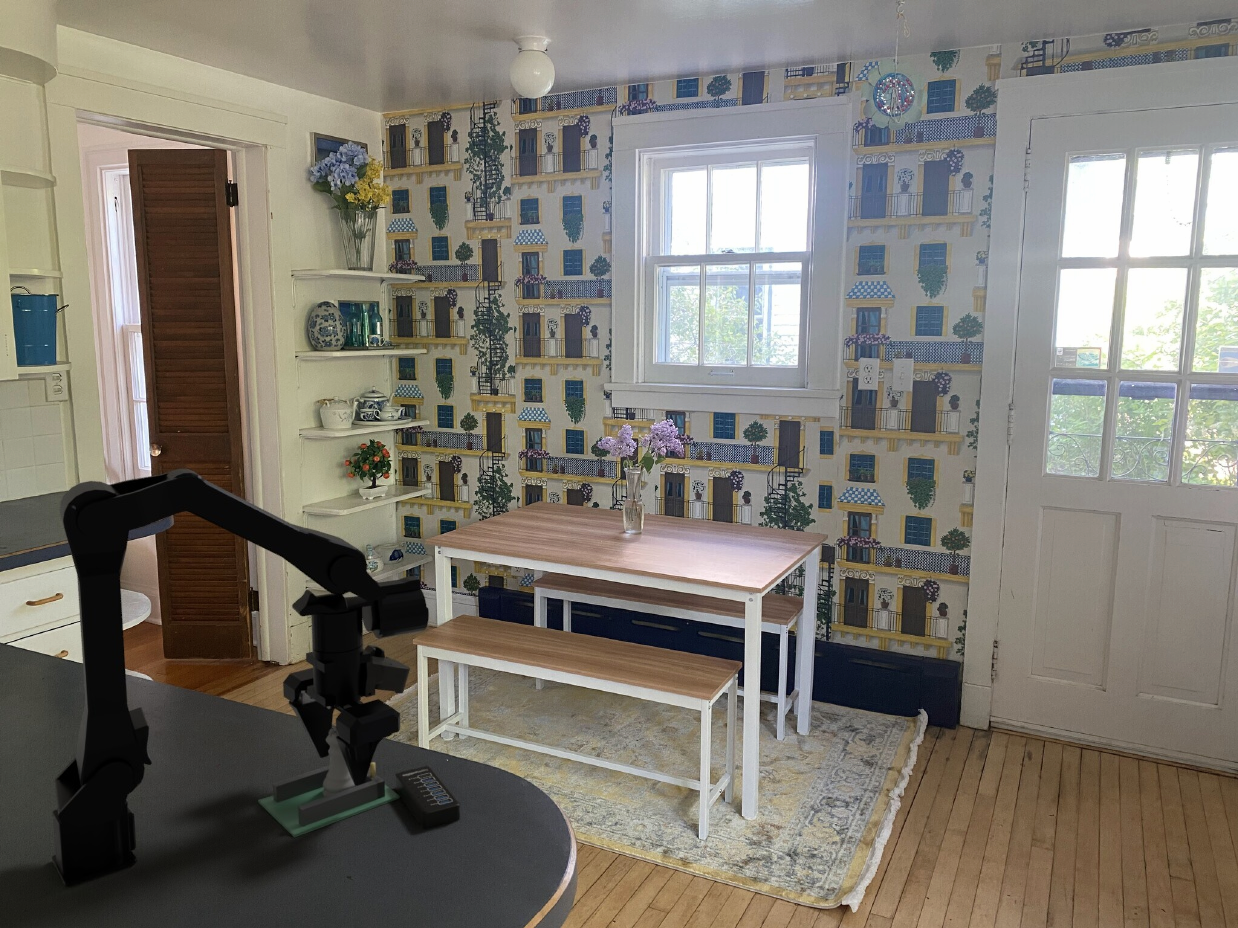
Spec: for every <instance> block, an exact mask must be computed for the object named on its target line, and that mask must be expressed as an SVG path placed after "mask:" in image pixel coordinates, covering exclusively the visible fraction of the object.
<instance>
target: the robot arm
mask: <svg viewBox="0 0 1238 928" xmlns="http://www.w3.org/2000/svg"><path fill="white" fill-rule="evenodd" d="M61 497H62V498H61V500H60V503H59V515H60V519H61V521H62V526H63V529H64V533H65V536H66V541H67V545H68V546H69V550H70V554H71V558H72V560H73V564H74V568H75V572H76V577H77V578H76V579H77V591H78V592H77V593H78V606H79V607H78V609H79V622H80V623H79V624H80V639H81V654H82V655H81V657H82V669H83V685H84V698H85V699H84V700H85V701H84V706H83V707H84V708H83V712H82V716H81V721H80V725H79V730H78V736H77V737H78V738H77V744H76V750H75V757H73V759H72V760H71V761H70V762H69V763H68V764H67V765H66V767H64V768H63V770H62V771H60V773H59V774H58V775H57V776H56V777H55V778H54V781H53V783H54V791H55V798H56V806H57V807H56V808H57V809H54V810H52V823H53V825H52V826H53V835H54V848H55V849H54V851H55V854H54V855H52V856H51V862H52V864H53V866H54V868H55V869H56V872H57V873H58V875H59V878H60V879H61V881H62V882H63V884H64V886H65V887H72V886H75V885H77V884H80V883H81V884H82V883H83V882H88V881H89V880H92V879H95V878H97V877H101V876H104V875H106V874H109V873H112V872H114V871H118V870H120V869H123V868H127V867H129V866H132V865H134V864H136V863H137V857H136V855H135V853H134V852H133V851H134V850H135V849H136V848H137V836H136V822H135V813H134V812H133V809H131V807H130V806H129V804H128V800H127V798H128V795H130V794H131V793H132V792H134V791H135V789H136V788H137V787H138V786H140V784H141V783H142V782H143V779H144V778H145V768H146V767H145V765H146V766H147V765H148V766H150V765H152V759H151V757H150V756H151V755H150V753H149V751H148V741H149V734H150V733H149V732H150V726H149V723H148V721H147V717H146V716H145V713H144V710H143V707H137V708H135V709H132V710H129V707H128V696H127V695H128V692H127V676H126V673H127V672H126V659H125V658H126V657H125V641H124V639H125V638H124V637H125V636H124V623H123V622H124V621H123V606H122V589H121V587H122V586H121V575H122V574H121V573H122V570H123V565H124V561H125V558H126V557H125V556H126V553H127V547H128V541H129V534H130V531H133V530H136V529H139V528H140V529H141V528H144V527H147V526H150V525H151V524H154V523H157V522H159V521H163V520H164V519H166V518H169V517H172V516H174V515H177V514H181V513H185V512H186V513H187V512H188V513H190V514H192V515H194V516H197V517H199V519H203V520H205V521H206V522H208V523H211V524H213V525H215V526H216V527H219V528H221V529H223V530H225V531H228V532H229V533H231V534H232V535H236V536H238V537H240V538H241V539H244V540H246V541H248V542H250V543H252V544H254V545H256V546H259V547H260V548H262V549H264V550H267V551H269V552H271V553H273V554H275V555H276V556H279V557H280V558H283V560H285V561H286V562H288V563H289V564H291V565H292V566H293V567H294V568H296V569H297V570H298V571H300V572H301V573H302V574H303V575H305V576H306V577H308V578H309V579H310V580H312V581H313V582H314V583H316V584H317V585H318V586H320V587H321V588H322V589H324V590H325V591H326V592H329V593H325V594H324V593H323V594H319V595H316V594H314V593H313V592H312V591H311V590H309V589H306V590H304V593H303V594H302V595H301V596H300V597H299V598H298V599H296V600H295V601H294V602H293V603H292V605H291V608H292V609H293V610H294V612H296V613H297V614H298V615H299V616H300V617H309V616H310V617H311V643H312V650H311V651H310V652H306V653H305V662H307V663H308V664H310V665H311V666H312V667H310V668H307V669H303V670H298V671H294V672H291V673H289V674H288V676H287V677H286V678H285V679H284V680H283V682H282V689H283V698H285V699H286V700H288V705H289V707H290V708H291V709H292V710H293V712H294V714H295V715H296V717H297V719H298V721H299V722H300V724H301V726H302V728H303V730H304V731H305V733H306V735H307V737H308V738H309V739H308V740H310V742H311V744H312V746H313V748H314V750H315V752H316V754H317V755H318V757H319V758H321V759H324V758H326V757H329V756H330V754H329V753H328V750H329V749H330V745H329V744H328V743H327V742H326V738H327V736H328V735H329V732H330V729H332V728H333V716H334V711H335V710H337V711H338V712H339V714H338V715H337V717H336V718H335V730H336V729H337V732H338V734H339V736H337V737H336V739H337V742H338V745H339V747H340V750H341V752H342V755H343V757H344V760H345V763H346V765H347V768H348V770H349V773H350V776H351V778H352V780H353V782H354V784H355V785H356V786H358V785H361V784H364V782H365V780H366V777H367V774H368V770H369V769H370V764H371V762H373V758H374V756H375V755H374V754H375V752H376V750H377V748H378V745H379V744H380V742H381V741H382V740H383V739H385V738H389V737H391V736H392V735H393V734H396V733H398V732H399V731H401V713H400V712H399V711H397V710H396V709H395V708H394V707H392V706H390V705H389V704H387V703H386V702H384V701H382V700H381V699H379V698H378V699H377V698H376V699H374V700H371V701H367V702H366V701H365V702H363V701H361V700H362V698H363V697H365V698H369V697H374V696H376V690H379V691H387V692H394V693H395V694H401V695H402V694H403V693H404V691H405V688H406V684H407V680H408V677H409V674H410V671H411V667H409V666H407V665H406V664H404V663H402V662H401V661H399V660H396V659H392V658H391V657H389V656H386V655H385V650H384V648H381V647H379V646H377V645H371V644H368V645H366V647H365V648H364V632H363V631H364V629H365V630H366V631H367V632H368V633H371V632H372V633H373V635H374V636H375V638H376V639H378V640H380V639H385V638H390V637H396V636H402V635H409V634H414V633H418V632H419V633H420V632H424V631H426V629H427V627H428V625H429V619H430V618H429V617H430V612H429V610H430V609H429V607H427V601H426V598H425V597H426V596H425V595H424V592H423V590H422V588H421V587H422V586H421V585H422V583H421V579H419V578H418V577H416V576H414V575H409V576H405V577H401V578H399V579H394V580H388V581H387V580H386V581H379V582H378V581H377V580H376V579H374V578H373V577H372V576H371V574H370V573H369V572H368V562H367V557H366V555H365V554H364V552H362V551H361V550H360V549H359V548H357V547H356V546H354V545H352V544H351V543H350V542H348V541H346V540H345V539H343V538H341V537H339V536H335V535H333V534H331V533H330V534H329V533H325V532H323V531H320V530H316V529H313V528H308V527H305V526H301V525H296V524H294V523H290V522H289V521H286V520H285V519H283V518H280V517H279V516H277V515H275V514H272V513H271V512H269V511H267V510H265V509H263V508H261V507H259V506H256V505H255V504H254V503H251V502H250V501H247V500H246V499H244V498H242V497H239V496H238V495H237V494H234V493H232V492H229V491H228V490H226V489H224V488H223V487H220V486H218V485H216V484H215V483H212V482H210V481H208V480H206V479H204V477H202V476H201V475H200V474H198V473H197V472H196V471H194V470H191V469H188V468H177V469H174V470H172V471H168V472H164V473H162V474H155V475H151V476H145V477H138V478H133V479H132V478H131V479H127V480H122V481H119V482H114V483H110V484H108V483H105V482H103V481H99V480H98V481H95V480H89V481H84V482H79V483H78V484H75V485H74V486H71V488H70V489H68V490H67V491H66V493H64V494H63V495H62V496H61ZM349 593H351V594H353V595H354V596H346V597H345V596H344V595H345V594H349ZM363 628H364V629H363Z"/></svg>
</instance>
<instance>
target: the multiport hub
mask: <svg viewBox="0 0 1238 928" xmlns="http://www.w3.org/2000/svg"><path fill="white" fill-rule="evenodd" d="M394 775H395V778H394V779H395V781H394V785H395V791H396V793H397V794H398V795H399V796H400V798H401V799H402V801H403V802H404V804H405V806H407V808H408V809H409V811H410V812H411V813H412V815H413V816H414V818H415V819H416V820H417V822H418V823H419V825H420V827H422V829H424V830H428V829H433V828H437V827H440V826H443V825H447V824H451V823H454V822H458V821H459V820H460V819H461V802H460V801H459V800H458V799H457V798H456V797H455V796H454V794H453V793H452V792H451V790H450V789H449V788H448V787H447V785H445V783H444V782H443V780H442V779H441V778H440V776H439V775H437V773H436V772H435V771H434V770H433V768H432V767H431V766H430V765H426V766H420V767H416V768H411V769H407V770H403V771H398V772H395V774H394Z"/></svg>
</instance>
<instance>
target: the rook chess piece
mask: <svg viewBox="0 0 1238 928" xmlns="http://www.w3.org/2000/svg"><path fill="white" fill-rule="evenodd" d="M337 736H339V734H338V732H337V729H336V728H333V727H332V729H330V732H329V735H328V736H327V738H326V742H327V743H328V744H329V745H330V749H329V750H328V753H329V771H328V773H327V775H326V778H325V780H324V782H323V787H324V789H323V791H322V793H323V795H324V796H325V797H327V796H330V795H333V794H335V793H338V792H341V791H344V790H347V789H350V788H353V787H355V786H356V785H355V784H354V782H353V780H352V778H351V776H350V773H349V770H348V768H347V765H346V763H345V760H344V757H343V755H342V752H341V750H340V747H339V745H338V742H337V739H336V737H337Z"/></svg>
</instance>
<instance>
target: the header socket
mask: <svg viewBox="0 0 1238 928" xmlns="http://www.w3.org/2000/svg"><path fill="white" fill-rule="evenodd" d="M329 765H330V764H329ZM329 765H326V766H323V767H320V768H317V769H314V770H313V769H312V770H310V771H307V772H304V773H301V774H298V775H295V776H291V777H289V778H286V779H283V780H280V781H276V782H274V783H272V790H273V791H272V794H273V795H270V796H267V797H263V798H260V799H258V801H257V803H258V804H259V805H260V806H261V807H263V809H265V810H266V812H268V814H270V815H271V817H272V818H274V819H275V820H276V821H277V823H279V824H280V826H282V827H283V828H284V829H285V830H286V831H287V832H288V833H289V834H290V835H291V836H292V837H293V838H297V837H299V836H301V835H305V834H307V833H311V832H312V831H315V830H319V829H320V828H323V827H326V826H329V825H331V824H333V823H338V822H339V821H342V820H345V819H347V818H351V817H353V816H356V815H358V814H360V813H361V814H362V813H363V812H367V811H369V810H371V809H375V808H378V807H379V806H383V805H385V804H387V803H391V802H393V801H396V800H398V799H400V798H401V796H400V795H399V794H398V792H395V791H394V790H393V789H392V788H390V787H389V786H387V784H385V783H386V781H385V779H383V778H381V777H380V776H379V775H377V774H376V773H377V772H376V762H375V761H371V764H370V767H369V770H368V774H367V777H366V780H365V782H364V784H361V785H358V786H355V787H353V788H350V789H347V790H344V791H341V792H338V793H335V794H333V795H330V796H327V797H325V796H324V795H323V793H322V791H323V789H324V787H323V782H324V780H325V778H326V775H327V773H328V771H329Z"/></svg>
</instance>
